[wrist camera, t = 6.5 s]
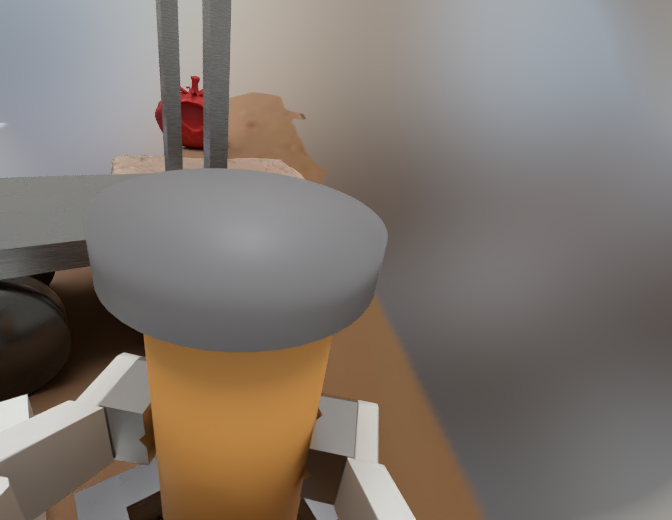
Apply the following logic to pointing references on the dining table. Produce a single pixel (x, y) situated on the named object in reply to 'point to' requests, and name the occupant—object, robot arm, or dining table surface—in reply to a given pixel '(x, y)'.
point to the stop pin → (233, 322)
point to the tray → (16, 418)
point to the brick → (198, 165)
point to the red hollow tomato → (189, 115)
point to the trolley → (70, 201)
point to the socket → (153, 498)
